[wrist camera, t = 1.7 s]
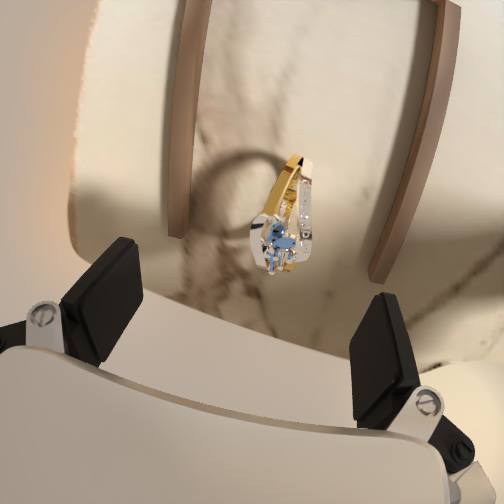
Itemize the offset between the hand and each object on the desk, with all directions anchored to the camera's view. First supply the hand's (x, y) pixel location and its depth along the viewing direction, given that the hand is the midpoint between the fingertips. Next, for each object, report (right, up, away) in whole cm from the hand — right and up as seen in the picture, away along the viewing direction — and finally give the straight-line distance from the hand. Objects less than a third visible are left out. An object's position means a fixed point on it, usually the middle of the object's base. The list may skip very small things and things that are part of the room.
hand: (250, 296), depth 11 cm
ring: (+3, +6, +10) cm, 12 cm away
